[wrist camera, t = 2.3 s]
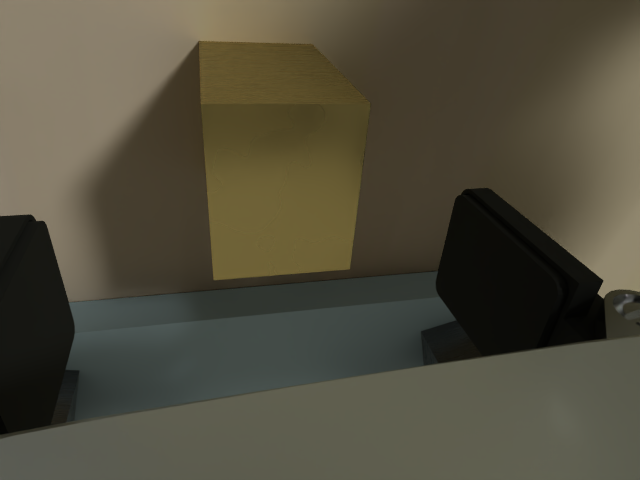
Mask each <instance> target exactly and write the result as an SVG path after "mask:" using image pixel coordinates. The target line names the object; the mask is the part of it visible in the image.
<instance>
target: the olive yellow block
mask: <svg viewBox="0 0 640 480" xmlns="http://www.w3.org/2000/svg"><path fill="white" fill-rule="evenodd" d="M199 62H200V96H201V114H202V128H203V142H204V156H205V169H206V183H207V197H208V211H209V224H210V238H211V252H212V265H213V279H214V280H223V279H235V278H248V277H260V276H273V275H285V274H297V273H310V272H322V271H335V270H347V269H350V264H351V256H352V248H353V240H354V232H355V225H356V217H357V209H358V201H359V193H360V185H361V177H362V169H363V162H364V154H365V146H366V138H367V130H368V122H369V114H370V106H371V103H370V102H369V101H368V100H367V99H366V98H365V97H364V96H363V95H362V94H361V93H360V92H359V91H358V90H357V89H356V88H355V87H354V86H353V85H352V84H351V83H350V82H349V81H348V80H347V79H346V78H345V77H344V76H343V75H342V74H341V73H340V72H339V71H338V70H337V69H336V68H335V67H334V66H333V65H332V64H331V63H330V62H329V61H328V60H327V59H326V58H325V57H324V56H323V55H322V54H321V53H320V52H319V50H318V49H317V48H316V47H315V46H314V45H313V44H287V43H251V42H215V41H199Z"/></svg>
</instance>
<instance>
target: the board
mask: <svg viewBox="0 0 640 480" xmlns="http://www.w3.org/2000/svg"><path fill="white" fill-rule="evenodd" d="M437 274H438V271H434V272H422V273H411V274H399V275H387V276H375V277H364V278H352V279H340V280H329V281H317V282H305V283H293V284H282V285H270V286H258V287H246V288H235V289H223V290H211V291H200V292H188V293H176V294H164V295H153V296H141V297H129V298H118V299H106V300H94V301H82V302H71V303H69V305H70V309H71V312H72V316H73V319H74V325H75V335H74V340H73V344H72V347H71V351H70V355H69V359H68V362H67V366H66V370H80V372H79V382H78V391H77V400H76V409H75V419H74V421H77V420H82V419H88V418H94V417H100V416H107V415H113V414H119V413H125V412H132V411H138V410H144V409H150V408H157V407H163V406H169V405H175V404H182V403H188V402H194V401H200V400H207V399H213V398H219V397H225V396H232V395H238V394H244V393H250V392H257V391H263V390H269V389H276V388H282V387H288V386H295V385H301V384H308V383H314V382H320V381H327V380H333V379H340V378H346V377H352V376H359V375H365V374H372V373H378V372H385V371H391V370H398V369H404V368H411V367H417V366H424V362H423V351H422V340H421V331H423V330H426V329H430V328H433V327H436V326H439V325H443V324H446V323H449V322H452V321H456V319H455V317H454V316H453V315H452V313H451V312H450V310H449V309H448V308H447V306H446V305H445V304H444V302H443V301H442V299H441V298H440V297H439V295H438V293H437V291H436V278H437Z"/></svg>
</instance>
